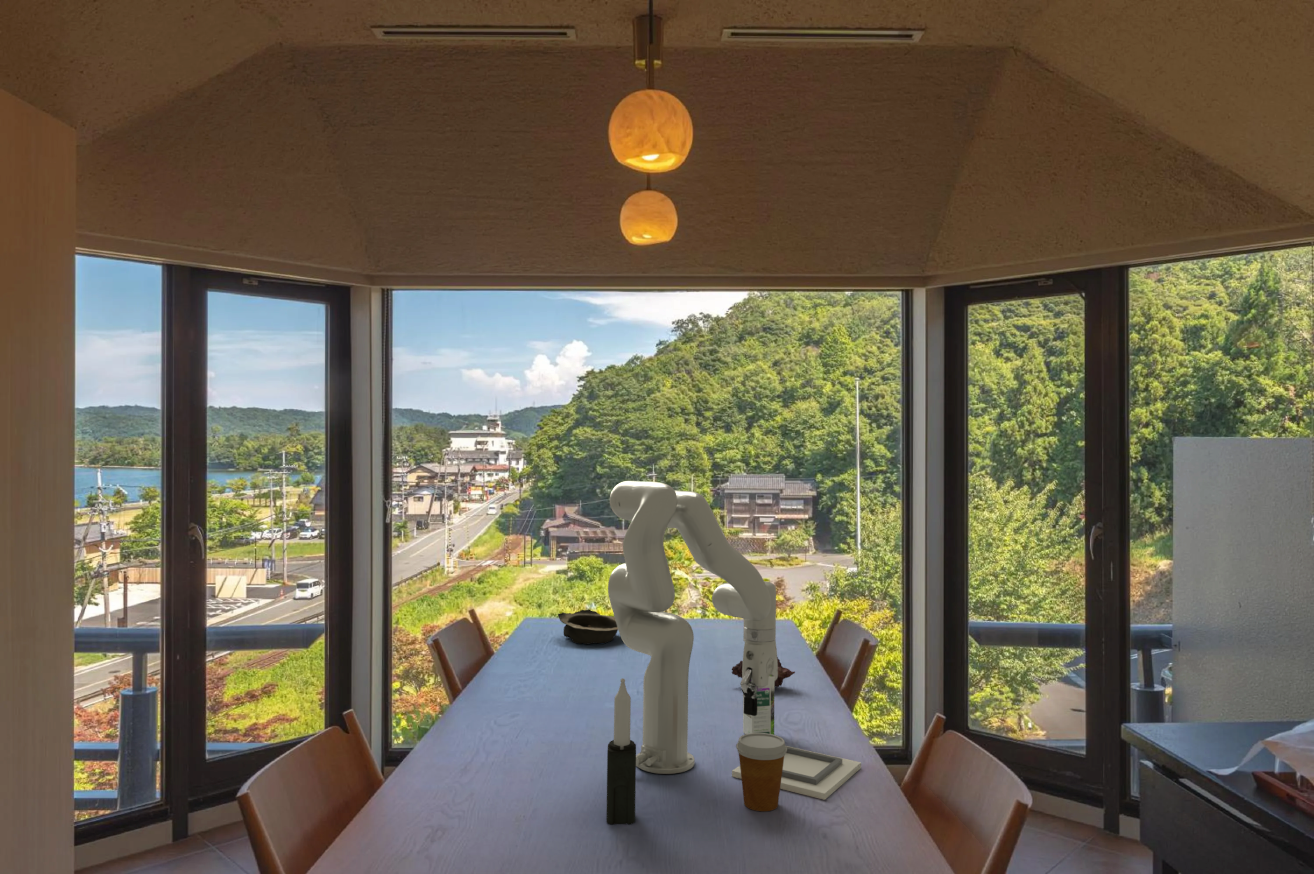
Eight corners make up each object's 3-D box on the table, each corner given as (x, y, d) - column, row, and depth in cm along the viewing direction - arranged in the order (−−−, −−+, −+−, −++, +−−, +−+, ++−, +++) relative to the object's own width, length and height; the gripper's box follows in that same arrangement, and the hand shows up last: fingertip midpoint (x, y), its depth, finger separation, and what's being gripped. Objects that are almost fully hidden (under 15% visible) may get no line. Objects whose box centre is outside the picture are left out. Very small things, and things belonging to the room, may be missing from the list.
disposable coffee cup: (725, 803, 158) (725, 739, 158) (757, 790, 165) (757, 728, 165) (765, 820, 151) (766, 752, 152) (796, 805, 158) (797, 740, 158)
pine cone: (730, 691, 234) (731, 655, 234) (731, 681, 243) (732, 647, 244) (795, 694, 231) (795, 657, 232) (793, 684, 241) (794, 649, 241)
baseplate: (824, 799, 161) (824, 788, 161) (731, 776, 172) (732, 765, 172) (861, 767, 177) (861, 757, 177) (774, 748, 188) (774, 738, 188)
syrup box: (751, 740, 194) (752, 676, 194) (742, 732, 199) (742, 670, 200) (774, 738, 195) (775, 675, 195) (764, 730, 201) (765, 669, 201)
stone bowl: (549, 633, 304) (551, 608, 304) (616, 635, 311) (618, 610, 312) (562, 648, 280) (565, 620, 281) (634, 649, 288) (637, 622, 288)
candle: (634, 812, 154) (636, 674, 154) (635, 824, 149) (637, 682, 149) (606, 812, 154) (609, 674, 154) (606, 824, 149) (608, 682, 149)
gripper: (757, 643, 188) (756, 722, 188) (789, 630, 203) (788, 703, 203) (727, 639, 192) (726, 716, 192) (761, 626, 207) (760, 698, 207)
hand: (758, 709), depth 197 cm, fingers closed on syrup box, 7 cm apart
